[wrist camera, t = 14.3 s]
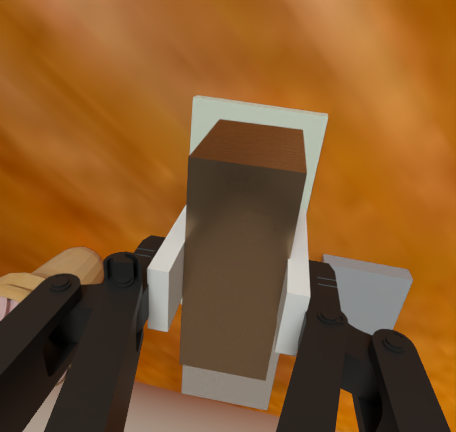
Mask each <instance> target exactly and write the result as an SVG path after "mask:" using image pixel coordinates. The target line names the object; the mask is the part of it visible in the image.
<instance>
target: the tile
mask: <svg viewBox="0 0 456 432" xmlns="http://www.w3.org/2000/svg"><path fill="white" fill-rule="evenodd" d="M321 262H323V263H329V264H330V266H331V267H332V268H333V270H334V271H335V275H336V281H337V288H338V293H339V299H340V306H341V311H342V312H343V313H344V314H345V316H346V317H347V318H348V323H349V324H350V325H352V326H353V327H355V328H357V329H359V330H361V331H363V332H365V333H368V334H370V335H373V334H374V332H375V331H377V330H379V329H390V330H393V328H394V325H395V323H396V320H397V318H398V316H399V313H400V311H401V308H402V306H403V303H404V301H405V299H406V296H407V294H408V291H409V289H410V287H411V284H412V282H413V279H412V277H411V275H410V272H409V270H408V269H403V268H397V267H392V266H386V265H381V264H376V263H370V262H365V261H359V260H354V259H349V258H343V257H338V256H332V255H327V254H323V257H322V261H321Z"/></svg>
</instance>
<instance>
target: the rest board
mask: <svg viewBox="0 0 456 432" xmlns="http://www.w3.org/2000/svg"><path fill="white" fill-rule="evenodd" d="M219 119H223V120H231V121H239V122H247V123H255V124H262V125H270V126H278V127H286V128H294V129H301V130H303V135H304V145H305V156H306V167H307V176H306V181H305V186H304V191H303V196H302V201H301V206H300V209H306V213H307V209H308V204H309V200H310V195H311V191H312V187H313V182H314V178H315V173H316V169H317V165H318V160H319V156H320V151H321V147H322V143H323V138H324V134H325V129H326V125H327V121H328V114H326V113H319V112H312V111H305V110H298V109H291V108H284V107H277V106H270V105H263V104H256V103H249V102H242V101H235V100H228V99H221V98H214V97H207V96H200V95H196V96H195V97H193V108H192V125H191V142H190V154H191V153H192V152H193V151H194V150H195V148H196V147H197V146H198V145H199V143H200V142H201V141H202V140H203V139H204V137H205V136H206V135H207V134H208V132H209V131H210V130H211V129H212V128H213V126H214V125H215V124H216V123H217V121H218V120H219ZM181 304H182V299H181Z"/></svg>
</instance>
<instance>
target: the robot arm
mask: <svg viewBox="0 0 456 432" xmlns="http://www.w3.org/2000/svg"><path fill="white" fill-rule="evenodd" d="M185 226H186V206H185V207H184V209H183V211H182V212H181V214H180V216H179V217H178V219H177V220H176V222H175V224H174V225H173V227H172V229H171V230H170V232H169V234H168V235H167V237H166V238H165V237H158V236H152V235H151V236H149V237H148V238H146V239H144V240H143V241H142V242H141V243H140V245H139V246H138V248H137V249H136V250H135V252H134V253H130V252H118V253H114V254H111V255H109V256H108V257H106V258H105V259H104V261H103V269H104V283H99V284H84V285H81V282H80V279H79V278H78V277H77V276H76V275H73V274H69V273H62V274H56V275H53V276H50V277H48V278H47V279H45V280H44V281H42V282H41V283H40V284H39V285H38V286H37V287H36V288H35V289H34V290H33V291H32V292H31V293H30V294H29V295H28V296H26V297H25V298H24V299H23V300H22V301H21V302H20V303H19V304H18V305H17V306H16V307H15V308H14V309H13V310H12V311H11V312H10V313H8V314H7V315H6V316H5V317H4V318H3V319H2V320H1V321H0V432H22V431H23V430H24V429H25V427H26V426H27V424H28V423H29V422H30V420H31V419H32V417H33V416H34V415H35V413H36V412H37V410H38V409H39V408H40V406H41V405H42V403H43V402H44V401H45V399H46V398H47V396H48V395H49V394H50V392H51V391H52V389H53V388H54V387H55V385H56V384H57V383H58V381H59V380H60V378H61V377H62V376H63V374H64V373H65V371H66V370H67V369H68V367H69V366H70V368H69V370H68V373H67V375H66V378H65V380H64V383H63V385H62V388H61V391H60V393H59V396H58V398H57V400H56V403H55V405H54V408H53V410H52V413H51V416H50V418H49V420H48V423H47V426H46V428H45V430H44V432H124V427H125V422H126V417H127V412H128V408H129V403H130V398H131V393H132V389H133V384H134V379H135V374H136V370H137V365H138V360H139V355H140V350H141V346H142V341H143V326H144V324H145V322H146V320H147V318H148V328H149V329H154V330H160V331H165V332H168V330H169V328H170V325H171V323H172V320H173V318H174V316H175V313H176V311H177V308H178V306H179V304H180V301H181V299H182V294H183V271H184V249H185ZM297 350H298V354H297ZM275 352H276V353H282V354H287V355H292V356H296V354H297V357H296V361H295V364H294V368H293V372H292V375H291V379H290V383H289V386H288V390H287V394H286V397H285V401H284V405H283V408H282V412H281V416H280V419H279V423H278V427H277V430H276V432H335V427H336V419H337V411H338V403H339V395H340V388H341V389H343V390H346V391H348V392H350V393H352V397H353V402H354V408H355V413H356V418H357V423H358V428H359V432H451V431H450V428H449V426H448V424H447V421H446V419H445V417H444V414H443V412H442V409H441V407H440V405H439V402H438V400H437V397H436V395H435V393H434V390H433V388H432V386H431V383H430V381H429V378H428V376H427V374H426V371H425V369H424V367H423V364H422V362H421V359H420V357H419V355H418V352H417V350H416V348H415V346H414V344H413V343H412V341H411V340H409V339H408V338H407V337H406V336H405V335H403V334H401V333H399V332H397V331H394V330H390V329H379V330H377V331H375V332H374V334H373V335H370V334H368V333H365V332H363V331H361V330H359V329H357V328H355V327H353V326H352V325H350V324H349V323H348V318H347V317H346V316H345V314H344V313H343V312H342V311H341V306H340V299H339V293H338V288H337V281H336V275H335V271H334V270H333V268H332V267H331V266H330V264H329V263H323V262H317V261H311V260H308V243H307V224H306V209H300V211H299V216H298V221H297V226H296V231H295V236H294V241H293V246H292V251H291V256H290V259H288V262H287V267H286V273H285V278H284V283H283V288H282V293H281V298H280V303H279V308H278V313H277V326H276V342H275ZM70 364H71V365H70Z"/></svg>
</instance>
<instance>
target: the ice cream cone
mask: <svg viewBox="0 0 456 432" xmlns="http://www.w3.org/2000/svg"><path fill="white" fill-rule="evenodd" d="M62 273H69V274H73V275H76V276H77V277H78V278H79V279H80V282H81V285H84V284H99V283H102V281H103V278H104V269H103V260H102V259H101V257H100V256H99V255H98V254H97V253H96V252H95V251H93V250H91V249H89V248H86V247H75V248H70V249H67V250H65V251H63V252H62V253H60V254H58V255H57V256H55V257H54V258H52V259H51V260H49V261H48V262H47V263H45V264H44V265H42V266H41V267H40V268H38V269H37V270H36V271H34V272H33V273H10V274H7V275H5V276H3V277H1V278H0V321H1V320H2V319H3V318H4V317H5V316H6V315H7V314H8V313H10V312H11V311H12V310H13V309H14V308H15V307H16V306H17V305H18V304H19V303H20V302H21V301H22V300H23V299H24V298H25V297H26V296H28V295H29V294H30V293H31V292H32V291H33V290H34V289H35V288H36V287H37V286H38V285H39V284H40V283H41V282H42V281H44V280H45V279H47V278H48V277H50V276H53V275H56V274H62ZM70 365H71V364H70ZM69 368H70V366H69V367H68V369H67V370H66V371H65V373H64V374H63V376H62V377H61V378H60V380H59V381H58V383H57V384H56V385H55V386H57V385H59V384H61V383H63V382H64V380H65V378H66V375H67V373H68V370H69Z"/></svg>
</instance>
